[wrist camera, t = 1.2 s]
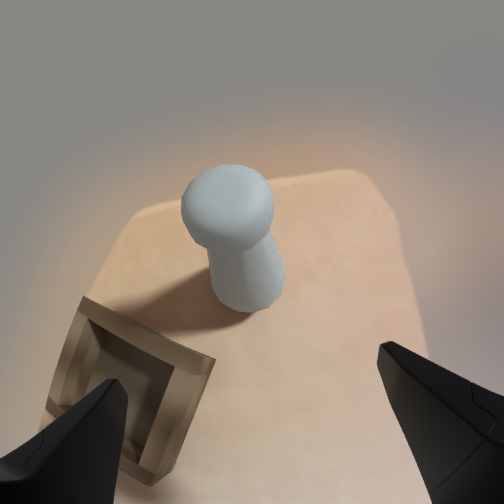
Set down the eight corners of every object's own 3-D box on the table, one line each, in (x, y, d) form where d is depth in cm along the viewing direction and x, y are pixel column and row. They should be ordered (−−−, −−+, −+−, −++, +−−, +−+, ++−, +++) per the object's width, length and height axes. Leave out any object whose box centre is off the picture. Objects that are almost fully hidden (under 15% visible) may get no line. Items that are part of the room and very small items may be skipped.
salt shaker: (204, 295, 23) (134, 213, 11) (240, 243, 25) (209, 132, 13) (262, 331, 21) (241, 278, 10) (297, 274, 23) (313, 170, 11)
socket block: (172, 470, 17) (150, 487, 12) (75, 407, 19) (45, 408, 15) (216, 359, 21) (201, 356, 17) (110, 309, 23) (83, 295, 19)
